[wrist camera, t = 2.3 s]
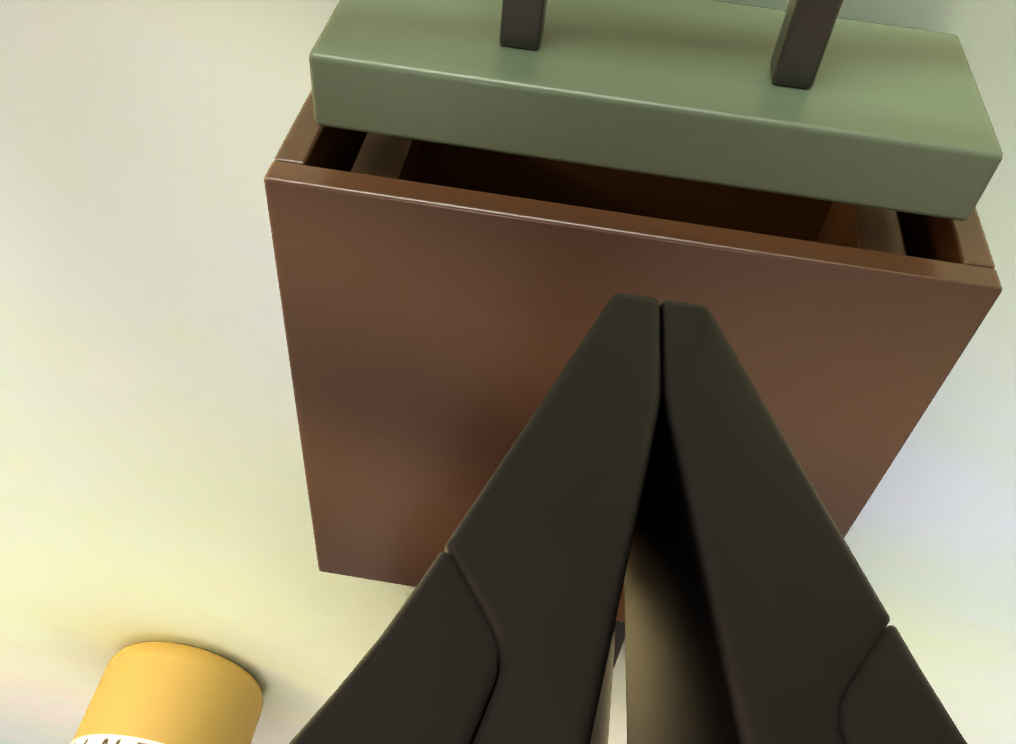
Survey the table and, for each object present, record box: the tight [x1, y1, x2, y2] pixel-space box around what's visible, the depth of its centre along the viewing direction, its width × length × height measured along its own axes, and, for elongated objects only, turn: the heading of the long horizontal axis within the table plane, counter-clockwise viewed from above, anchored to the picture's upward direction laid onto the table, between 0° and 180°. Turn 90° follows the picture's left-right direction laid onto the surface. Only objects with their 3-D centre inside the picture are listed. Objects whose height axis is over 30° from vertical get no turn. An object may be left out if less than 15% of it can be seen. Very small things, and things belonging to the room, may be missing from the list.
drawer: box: [309, 0, 1003, 256], centre depth 17 cm, size 15×10×4 cm
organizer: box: [264, 90, 1002, 622], centre depth 20 cm, size 12×11×5 cm
